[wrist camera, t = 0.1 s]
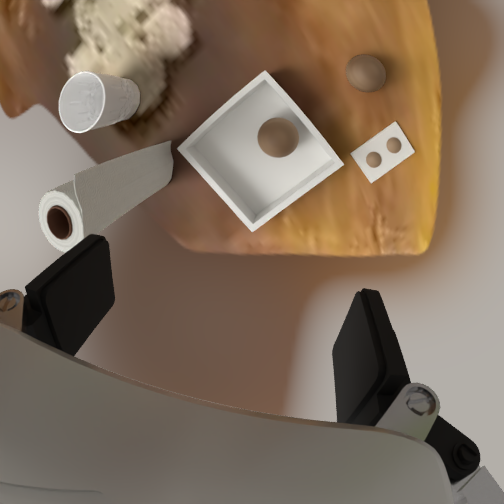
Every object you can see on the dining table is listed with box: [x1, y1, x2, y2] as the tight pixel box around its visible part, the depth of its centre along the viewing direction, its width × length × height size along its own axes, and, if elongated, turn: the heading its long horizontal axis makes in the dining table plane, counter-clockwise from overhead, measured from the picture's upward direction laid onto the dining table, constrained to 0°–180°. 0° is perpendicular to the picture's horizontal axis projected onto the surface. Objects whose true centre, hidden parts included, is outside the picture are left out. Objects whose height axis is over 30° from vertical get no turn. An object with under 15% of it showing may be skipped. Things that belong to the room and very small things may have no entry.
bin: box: [177, 71, 344, 232], centre depth 36 cm, size 15×15×4 cm
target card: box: [350, 121, 415, 183], centre depth 35 cm, size 8×5×1 cm, turn 131°
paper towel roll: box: [38, 141, 174, 253], centre depth 31 cm, size 7×6×21 cm
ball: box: [257, 118, 299, 158], centre depth 34 cm, size 5×5×5 cm
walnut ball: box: [346, 55, 386, 92], centre depth 29 cm, size 5×5×5 cm
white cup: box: [59, 71, 140, 133], centre depth 32 cm, size 8×8×10 cm
